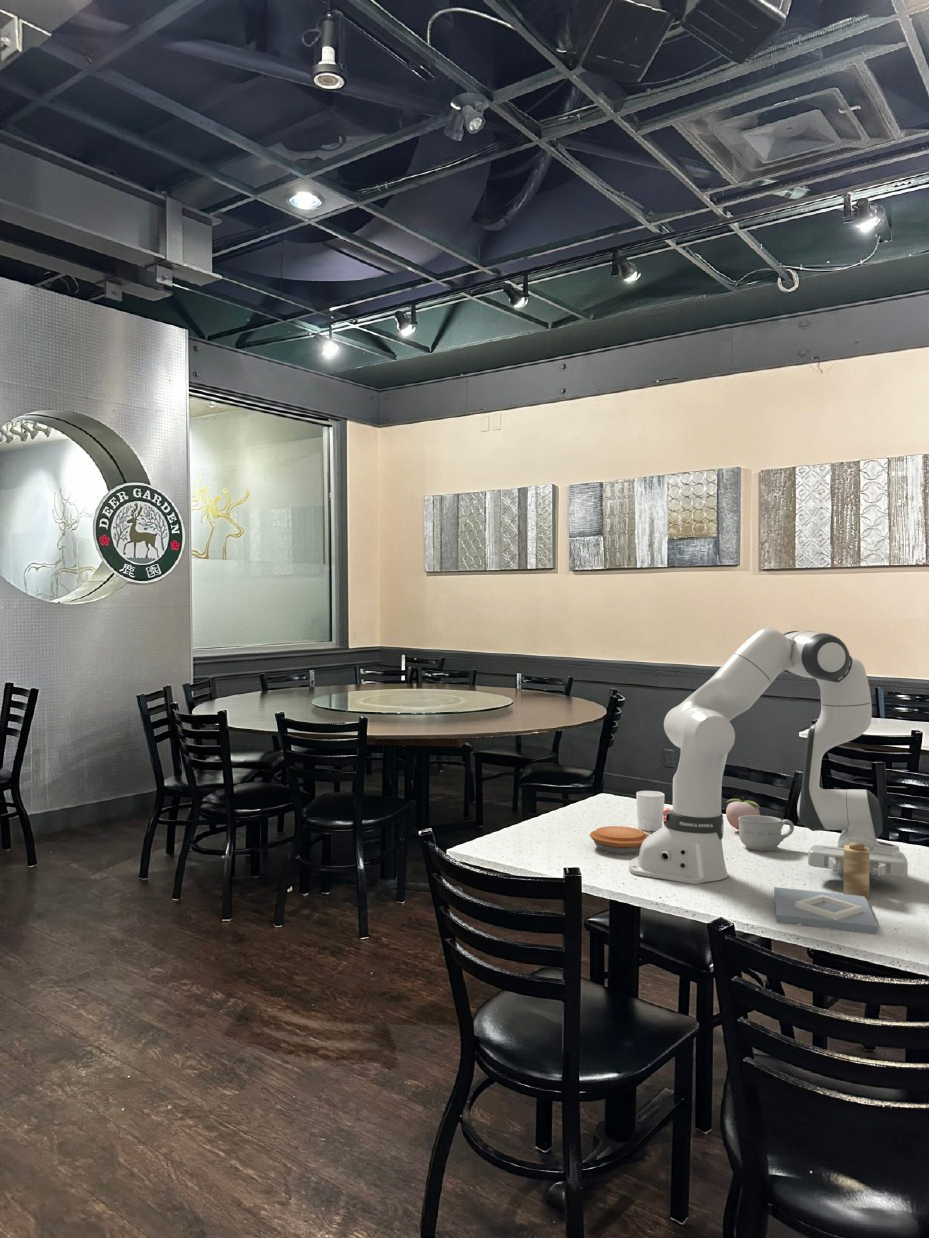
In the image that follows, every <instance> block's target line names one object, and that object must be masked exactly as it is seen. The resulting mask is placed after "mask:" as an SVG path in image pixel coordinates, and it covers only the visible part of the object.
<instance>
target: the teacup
mask: <svg viewBox="0 0 929 1238" xmlns="http://www.w3.org/2000/svg"><path fill="white" fill-rule="evenodd" d="M738 819H739V830H738V832H739V833H738V834H739V839H740V841H741V843H742V844H743V845H745V847H746V848H747V849H748V850H753V851H763V852H764V851H773V850H774V849H776V848H777V847H778V846H780V844H781V842H783V840H784V839H786V838H788V837H789V836H791V835H792V833H794V830H795V825H794V823H793V822H792V821H791V820H789V819H781V818H779V817H775V816H769V815H760V816H759V815H748V816H741V817H739V818H738ZM785 824H788V825H789V829H788V830H787V831H786V832H785V833H783V834H782V829H783V826H785Z"/></svg>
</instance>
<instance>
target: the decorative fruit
mask: <svg viewBox="0 0 929 1238" xmlns="http://www.w3.org/2000/svg"><path fill="white" fill-rule="evenodd" d="M741 798H742V799H740V798H731V799H728V800H727V801H726V803H728V804H727V806H726V811H725V817H726V819H727V822H728V823H729V825H731V827H732V828H735V829H736V830H738V831H739V819H738V818H739V817H741V816H748V815H759V816H761V814H760V813H761V812H760V809H761V807H760V805H759V804H758V803H756V802H755V801H752V800H744V796H742V797H741ZM729 802H730V803H729Z"/></svg>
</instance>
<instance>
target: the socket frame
mask: <svg viewBox="0 0 929 1238" xmlns="http://www.w3.org/2000/svg"><path fill="white" fill-rule="evenodd" d="M823 901H824V902H827V903H830V904H833V905H836V906H840V907H843V908H846V909H844V910H841V911H838V912H835V913H834V912H831V911H828V910H825V909H821V908H818V907H815V906H812V905H813V904H816V903H820V902H823ZM795 907H797V908H800V909H803V910H806V911H809V912H812V913H815V914H818V915H821V916H825V917H828V918H831V919H834V920H838V919H841V918H844V917H848V916H851V915H854V914H857V913H860V912H863V907H862V906H858V905H855V904H852V903H848V902H845V901H842V900H839V899H835V898H832V897H829V896H826V895H818V896H815V897H811V898H807V899H804V900H800V901H797V902H795Z"/></svg>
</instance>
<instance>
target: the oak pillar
mask: <svg viewBox="0 0 929 1238" xmlns="http://www.w3.org/2000/svg"><path fill="white" fill-rule="evenodd" d="M869 851H870V847H864V844H862V843H857V842H851V843H849V845H844V870H843V892H842V894H846V895H856V896H865V898H866V900H867V901H868V900H870V875H869Z"/></svg>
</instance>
